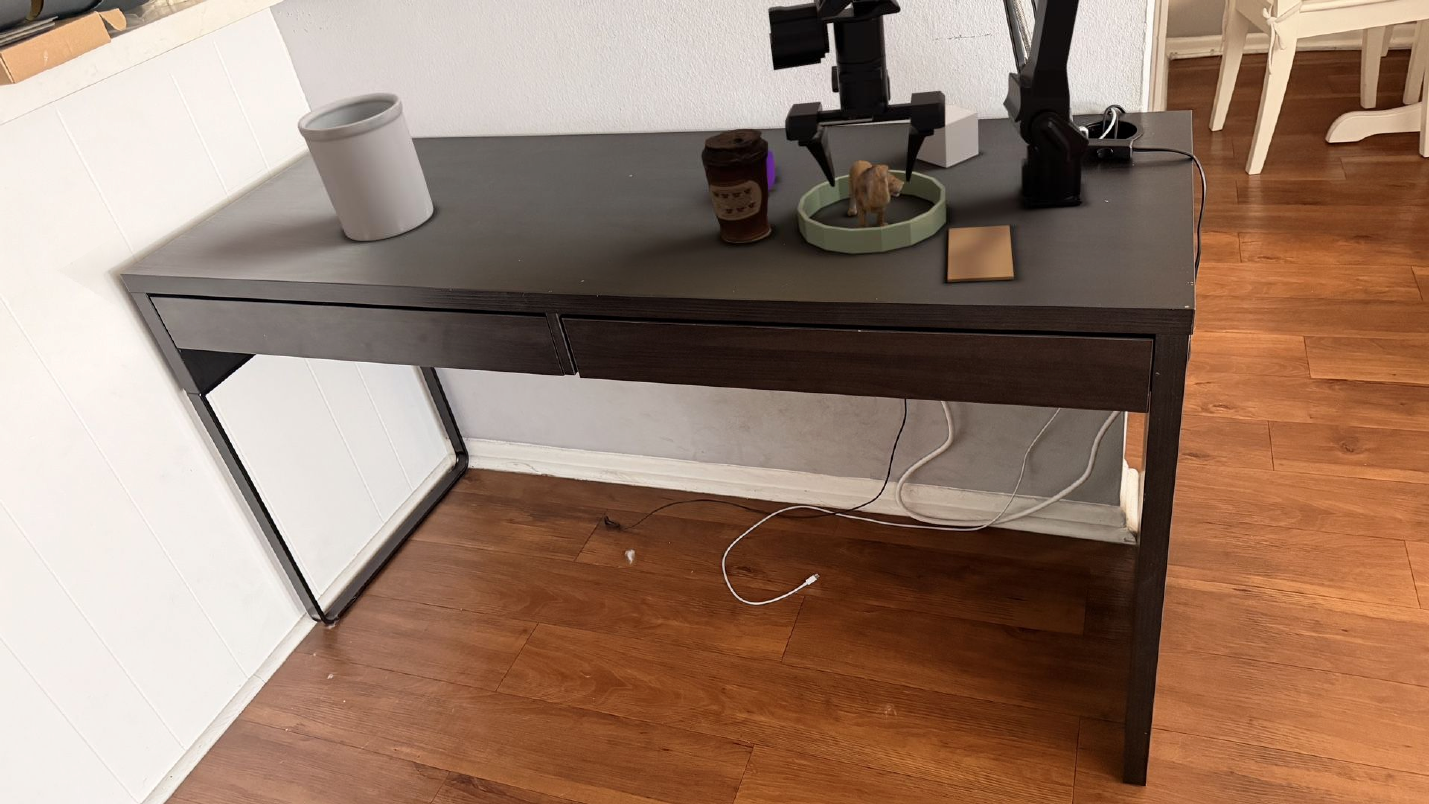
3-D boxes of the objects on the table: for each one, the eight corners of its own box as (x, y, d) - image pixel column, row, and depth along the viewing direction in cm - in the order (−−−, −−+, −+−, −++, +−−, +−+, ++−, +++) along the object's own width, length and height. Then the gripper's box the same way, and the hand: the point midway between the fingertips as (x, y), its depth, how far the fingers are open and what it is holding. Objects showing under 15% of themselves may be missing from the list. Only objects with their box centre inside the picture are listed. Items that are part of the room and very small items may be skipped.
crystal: (783, 136, 149) (761, 165, 137) (786, 169, 151) (765, 201, 139) (751, 138, 151) (727, 167, 138) (754, 171, 153) (731, 202, 140)
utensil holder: (372, 251, 147) (329, 133, 138) (322, 233, 157) (278, 121, 147) (455, 211, 155) (419, 97, 146) (403, 196, 165) (366, 88, 155)
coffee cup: (773, 247, 128) (759, 147, 120) (708, 251, 130) (691, 153, 123) (783, 218, 134) (770, 122, 127) (721, 222, 137) (706, 127, 130)
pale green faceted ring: (947, 187, 135) (946, 165, 133) (945, 248, 120) (944, 225, 119) (810, 196, 139) (807, 175, 138) (792, 256, 125) (789, 234, 123)
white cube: (978, 154, 142) (978, 111, 139) (946, 168, 140) (945, 125, 137) (947, 145, 147) (946, 103, 144) (916, 158, 145) (914, 116, 141)
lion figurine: (910, 236, 124) (906, 166, 119) (868, 246, 124) (863, 176, 119) (868, 195, 136) (863, 129, 132) (830, 204, 136) (824, 139, 131)
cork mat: (1009, 228, 122) (1009, 225, 122) (1013, 279, 112) (1013, 276, 111) (949, 231, 124) (949, 228, 124) (947, 282, 113) (947, 279, 113)
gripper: (944, 28, 123) (948, 153, 131) (790, 45, 127) (804, 164, 136) (942, 56, 114) (947, 188, 122) (777, 72, 118) (792, 198, 127)
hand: (870, 183), depth 127 cm, fingers open, 9 cm apart
